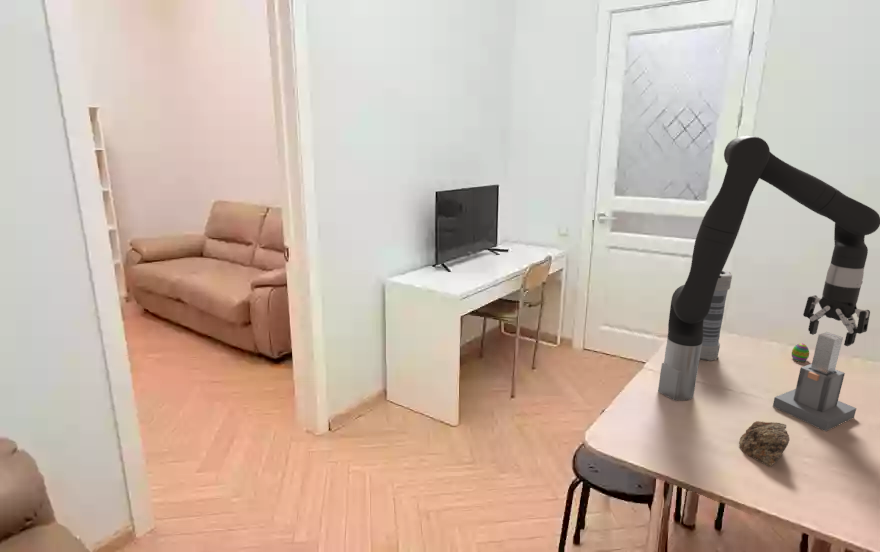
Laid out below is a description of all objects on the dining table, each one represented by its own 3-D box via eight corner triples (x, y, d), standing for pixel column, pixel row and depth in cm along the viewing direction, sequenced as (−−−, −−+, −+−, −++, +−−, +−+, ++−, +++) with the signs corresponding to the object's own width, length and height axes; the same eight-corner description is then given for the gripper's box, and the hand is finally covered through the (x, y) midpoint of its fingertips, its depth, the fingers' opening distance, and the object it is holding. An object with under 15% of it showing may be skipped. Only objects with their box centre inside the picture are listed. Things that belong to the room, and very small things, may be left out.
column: (818, 407, 145) (835, 340, 140) (802, 400, 149) (817, 334, 143) (827, 403, 147) (844, 337, 142) (811, 396, 151) (826, 331, 145)
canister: (720, 362, 178) (735, 277, 170) (687, 358, 181) (700, 274, 172) (715, 350, 188) (729, 269, 179) (684, 346, 190) (696, 266, 182)
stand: (825, 431, 140) (836, 387, 136) (772, 406, 152) (781, 365, 148) (853, 417, 147) (865, 375, 143) (801, 394, 158) (810, 355, 154)
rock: (786, 447, 135) (742, 434, 141) (793, 417, 133) (748, 404, 139) (782, 473, 124) (734, 457, 129) (789, 440, 122) (740, 425, 127)
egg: (806, 358, 182) (809, 342, 180) (808, 364, 178) (812, 347, 176) (789, 355, 184) (792, 339, 182) (791, 361, 180) (795, 345, 178)
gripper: (806, 276, 142) (794, 332, 147) (867, 292, 130) (852, 352, 135) (821, 273, 146) (809, 327, 150) (882, 287, 134) (867, 346, 138)
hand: (829, 339), depth 143 cm, fingers open, 8 cm apart
